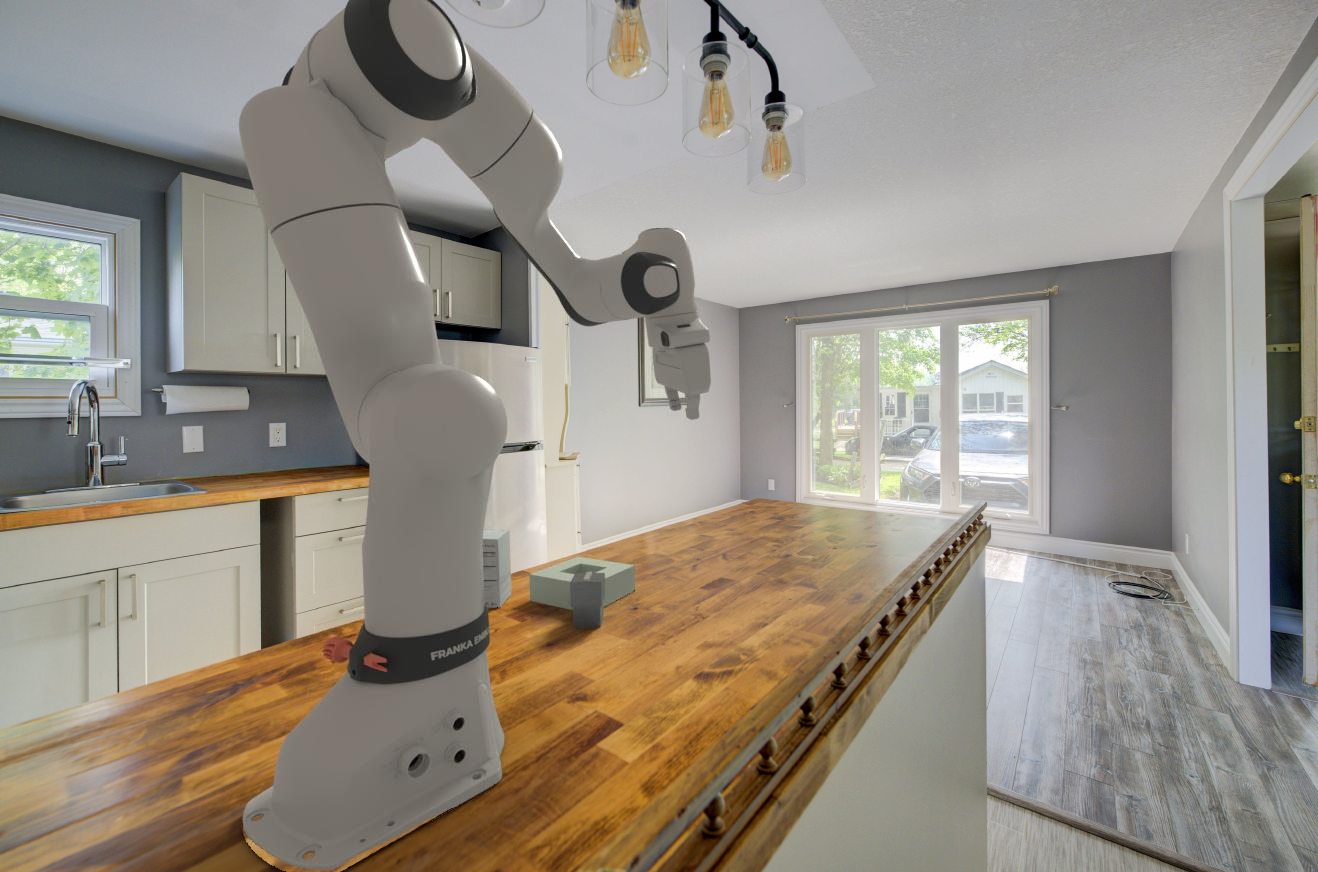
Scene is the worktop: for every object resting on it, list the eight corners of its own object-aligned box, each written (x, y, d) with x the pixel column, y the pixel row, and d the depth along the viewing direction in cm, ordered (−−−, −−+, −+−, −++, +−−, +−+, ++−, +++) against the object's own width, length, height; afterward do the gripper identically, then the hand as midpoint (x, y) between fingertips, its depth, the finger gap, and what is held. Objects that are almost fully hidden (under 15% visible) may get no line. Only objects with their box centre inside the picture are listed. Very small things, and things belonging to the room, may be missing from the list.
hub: (590, 614, 95) (589, 585, 94) (530, 600, 102) (529, 574, 102) (635, 590, 107) (634, 565, 106) (578, 580, 114) (577, 556, 114)
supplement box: (474, 595, 106) (472, 529, 105) (512, 594, 106) (510, 529, 105) (458, 608, 98) (456, 538, 98) (500, 608, 98) (498, 538, 98)
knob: (602, 628, 89) (601, 579, 88) (571, 628, 89) (570, 579, 88) (605, 616, 94) (604, 570, 93) (576, 616, 94) (575, 570, 93)
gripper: (640, 334, 100) (651, 408, 104) (673, 337, 81) (685, 428, 84) (673, 329, 102) (682, 402, 105) (713, 330, 82) (723, 420, 86)
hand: (684, 414), depth 94 cm, fingers open, 8 cm apart
